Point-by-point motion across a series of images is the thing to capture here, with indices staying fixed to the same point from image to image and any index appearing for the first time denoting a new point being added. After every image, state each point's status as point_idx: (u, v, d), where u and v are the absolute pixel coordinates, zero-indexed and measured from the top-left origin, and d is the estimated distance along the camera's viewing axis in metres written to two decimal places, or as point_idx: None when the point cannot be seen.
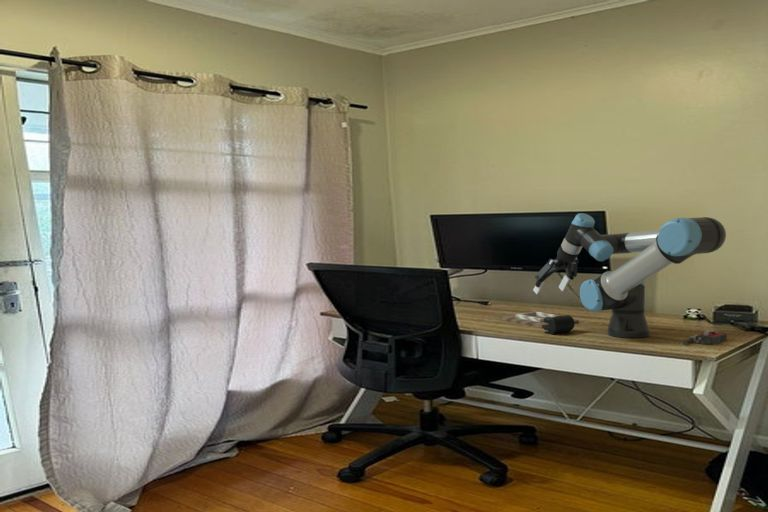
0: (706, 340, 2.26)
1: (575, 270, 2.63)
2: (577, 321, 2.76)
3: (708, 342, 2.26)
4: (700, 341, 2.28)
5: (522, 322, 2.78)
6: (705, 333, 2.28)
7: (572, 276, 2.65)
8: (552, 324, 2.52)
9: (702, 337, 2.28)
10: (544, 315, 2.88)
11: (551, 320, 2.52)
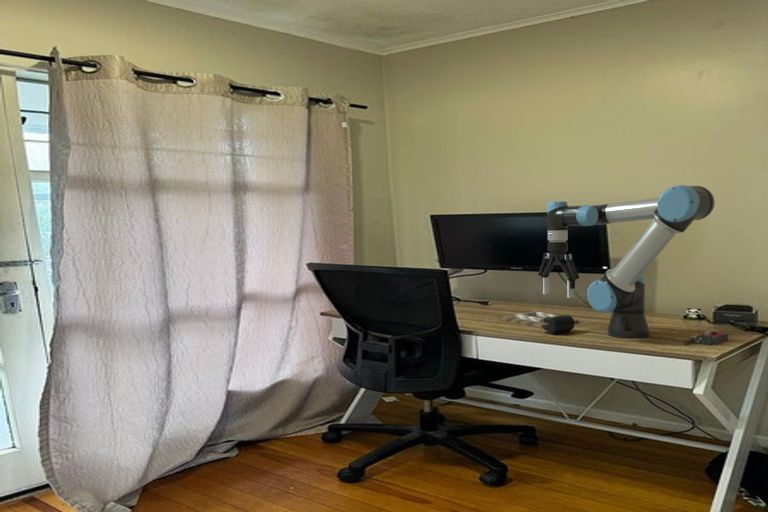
0: (707, 340, 2.26)
1: None
2: (577, 321, 2.76)
3: (709, 342, 2.25)
4: (701, 341, 2.28)
5: (522, 322, 2.78)
6: (706, 333, 2.28)
7: None
8: (552, 324, 2.52)
9: (703, 337, 2.28)
10: (544, 315, 2.88)
11: (551, 320, 2.52)
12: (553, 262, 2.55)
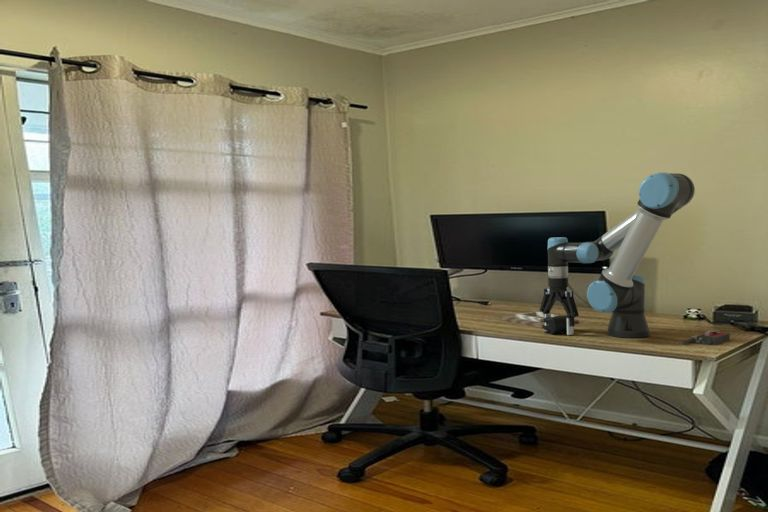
0: (707, 340, 2.26)
1: None
2: (577, 321, 2.76)
3: (708, 342, 2.26)
4: (701, 341, 2.28)
5: (522, 322, 2.78)
6: (706, 333, 2.28)
7: None
8: (552, 324, 2.52)
9: (703, 337, 2.28)
10: None
11: (551, 320, 2.52)
12: (554, 298, 2.56)
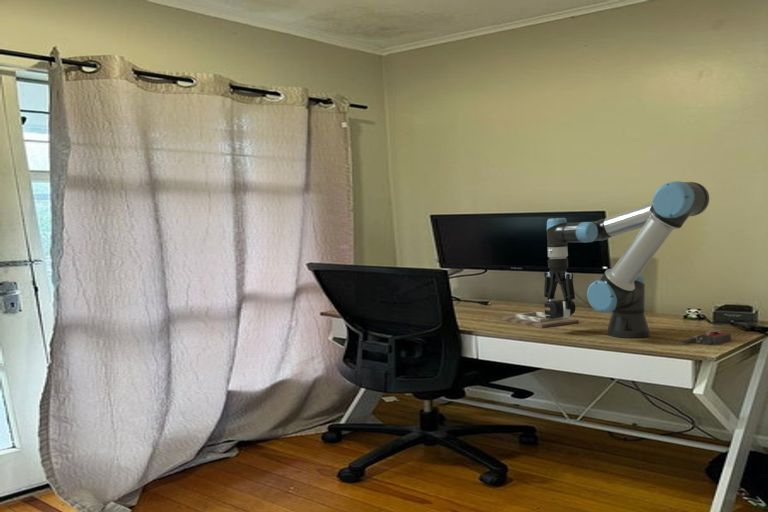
0: (707, 340, 2.26)
1: None
2: (577, 321, 2.76)
3: (709, 342, 2.26)
4: (701, 341, 2.28)
5: (522, 322, 2.78)
6: (707, 333, 2.28)
7: None
8: (553, 308, 2.51)
9: (703, 337, 2.28)
10: (544, 315, 2.88)
11: (552, 304, 2.51)
12: (554, 279, 2.55)
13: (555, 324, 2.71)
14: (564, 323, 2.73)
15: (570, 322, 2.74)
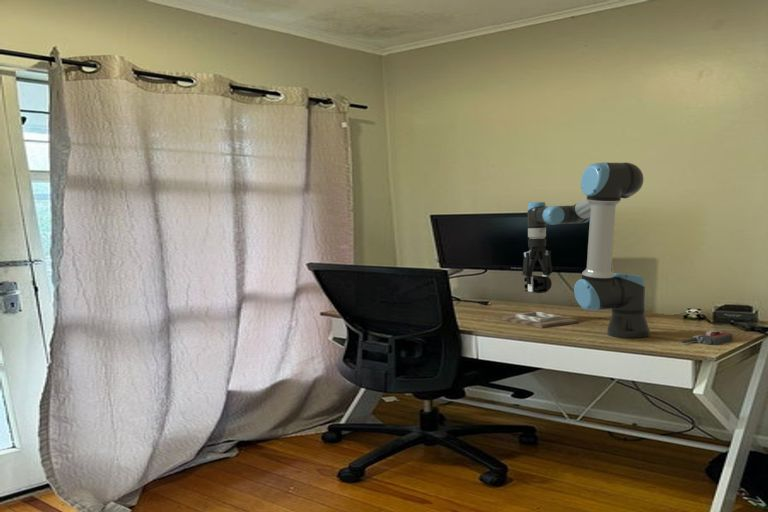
0: (707, 340, 2.26)
1: None
2: (577, 321, 2.76)
3: (709, 342, 2.25)
4: (702, 341, 2.28)
5: (522, 322, 2.78)
6: (707, 333, 2.28)
7: None
8: (548, 282, 2.79)
9: (704, 337, 2.28)
10: (544, 315, 2.88)
11: (547, 279, 2.79)
12: None
13: (555, 324, 2.71)
14: (564, 323, 2.73)
15: (570, 322, 2.74)
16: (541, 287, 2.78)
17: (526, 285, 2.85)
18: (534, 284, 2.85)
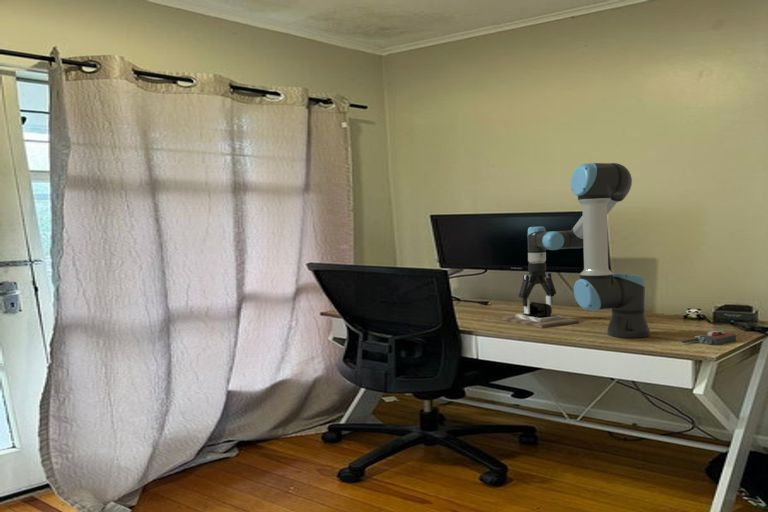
0: (708, 340, 2.26)
1: None
2: (577, 321, 2.76)
3: (710, 342, 2.25)
4: (704, 341, 2.28)
5: (522, 322, 2.78)
6: (709, 333, 2.28)
7: None
8: (549, 309, 2.80)
9: (705, 337, 2.28)
10: None
11: (548, 306, 2.80)
12: (536, 281, 2.82)
13: (555, 324, 2.71)
14: (564, 323, 2.73)
15: (570, 322, 2.74)
16: (541, 314, 2.79)
17: None
18: (534, 311, 2.87)
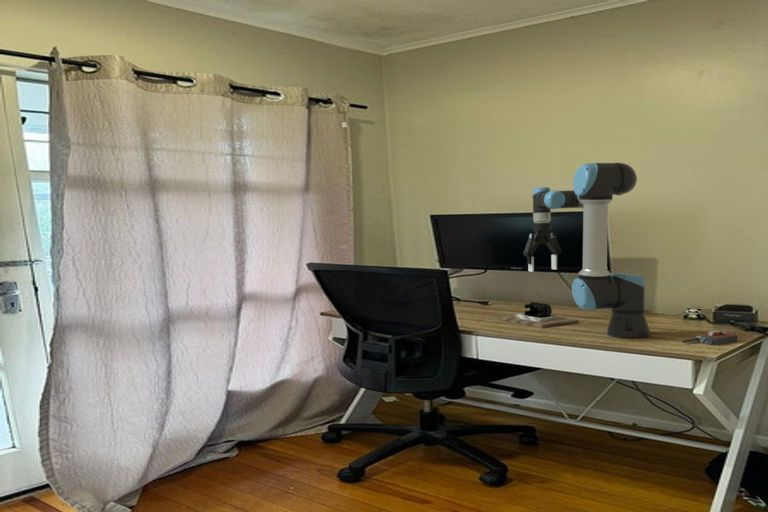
0: (708, 340, 2.26)
1: None
2: (577, 321, 2.76)
3: (710, 342, 2.25)
4: (704, 341, 2.28)
5: (522, 322, 2.78)
6: (710, 333, 2.27)
7: None
8: (549, 309, 2.80)
9: (706, 337, 2.28)
10: None
11: (548, 306, 2.80)
12: (541, 241, 2.87)
13: (555, 324, 2.71)
14: (564, 323, 2.73)
15: (570, 322, 2.74)
16: (541, 314, 2.79)
17: (526, 312, 2.86)
18: (534, 311, 2.87)
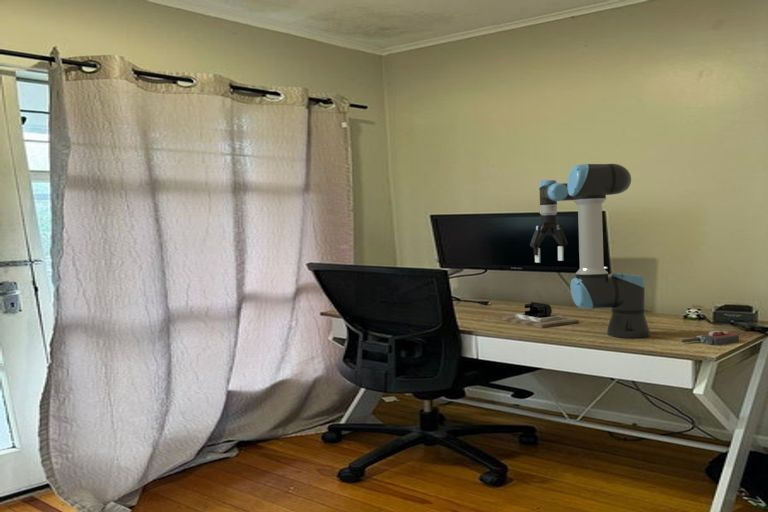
0: (709, 340, 2.26)
1: None
2: (577, 321, 2.76)
3: (710, 342, 2.25)
4: (705, 341, 2.28)
5: (522, 322, 2.78)
6: (710, 333, 2.27)
7: None
8: (549, 309, 2.80)
9: (706, 337, 2.28)
10: None
11: (548, 306, 2.80)
12: (548, 233, 2.94)
13: (555, 324, 2.71)
14: (564, 323, 2.73)
15: (570, 322, 2.74)
16: (541, 314, 2.79)
17: (526, 312, 2.86)
18: (534, 311, 2.87)
